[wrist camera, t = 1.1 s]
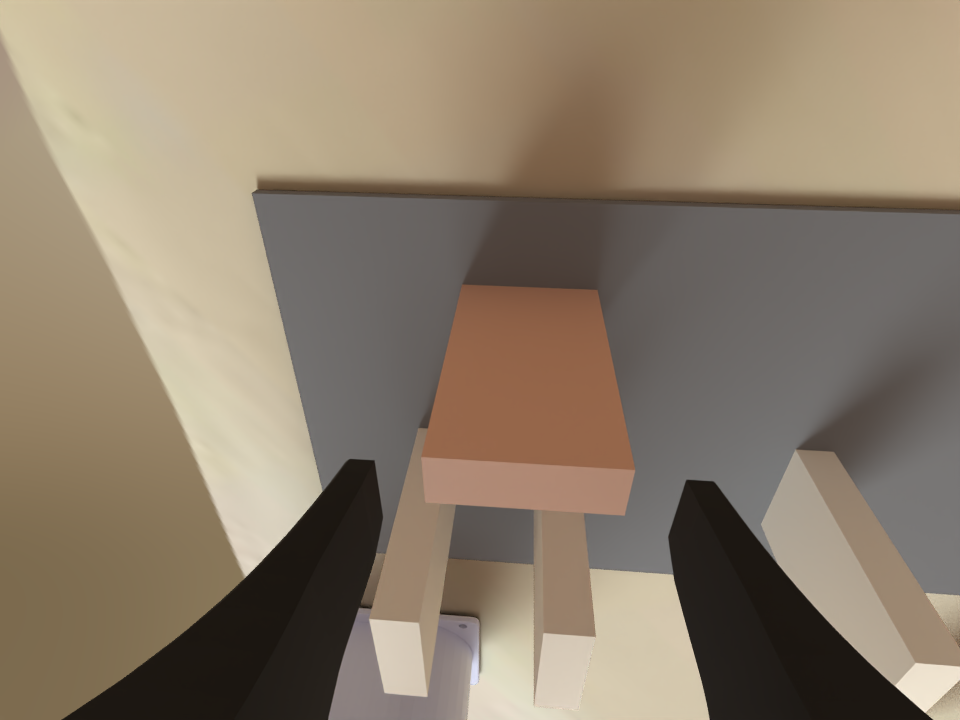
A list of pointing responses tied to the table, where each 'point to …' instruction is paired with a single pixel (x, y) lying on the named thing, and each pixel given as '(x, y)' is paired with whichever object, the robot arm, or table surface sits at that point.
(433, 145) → the table surface
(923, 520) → the slate mat
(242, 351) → the table surface
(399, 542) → the domino
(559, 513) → the domino
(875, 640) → the domino
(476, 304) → the domino
